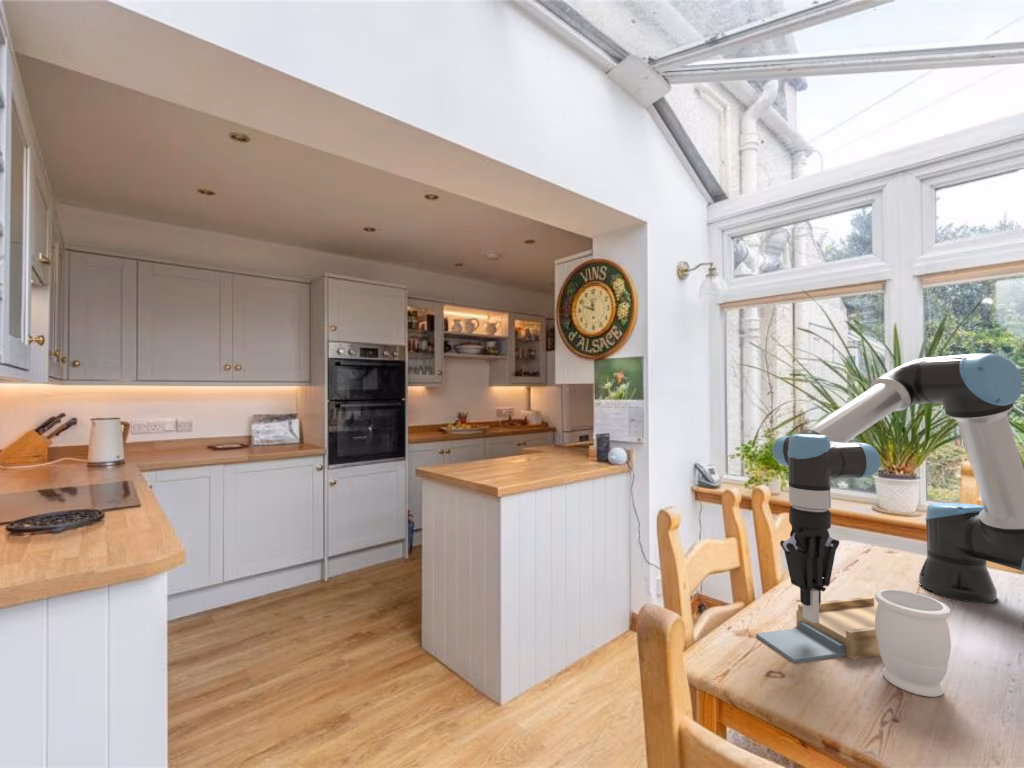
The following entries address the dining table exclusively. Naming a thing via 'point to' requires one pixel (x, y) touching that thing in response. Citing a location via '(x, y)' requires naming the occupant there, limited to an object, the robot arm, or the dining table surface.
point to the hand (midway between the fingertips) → (810, 619)
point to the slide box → (848, 624)
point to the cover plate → (803, 643)
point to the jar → (913, 640)
